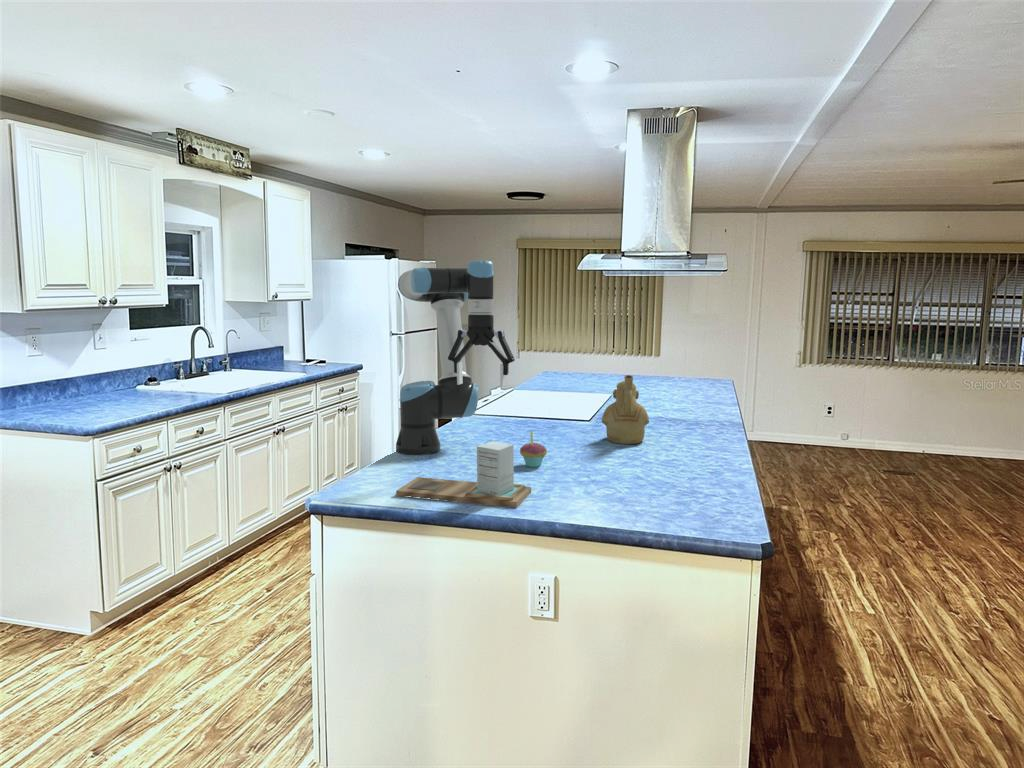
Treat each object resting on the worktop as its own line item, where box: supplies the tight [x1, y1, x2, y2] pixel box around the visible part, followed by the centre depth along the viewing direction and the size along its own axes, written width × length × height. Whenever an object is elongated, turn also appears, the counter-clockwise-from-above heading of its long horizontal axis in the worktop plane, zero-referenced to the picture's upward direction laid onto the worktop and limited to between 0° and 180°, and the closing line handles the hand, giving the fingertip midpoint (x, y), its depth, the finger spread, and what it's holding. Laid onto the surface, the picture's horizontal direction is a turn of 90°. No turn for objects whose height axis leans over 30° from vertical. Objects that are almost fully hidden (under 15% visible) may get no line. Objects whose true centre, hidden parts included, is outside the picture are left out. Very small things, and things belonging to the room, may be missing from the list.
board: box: [395, 476, 532, 509], centre depth 193 cm, size 34×14×2 cm, turn 73°
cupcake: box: [519, 429, 548, 468], centre depth 223 cm, size 9×8×12 cm
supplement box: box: [476, 441, 515, 496], centre depth 190 cm, size 7×7×13 cm
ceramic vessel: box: [601, 374, 650, 445], centre depth 256 cm, size 17×20×25 cm
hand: (481, 385), depth 212 cm, fingers open, 13 cm apart
